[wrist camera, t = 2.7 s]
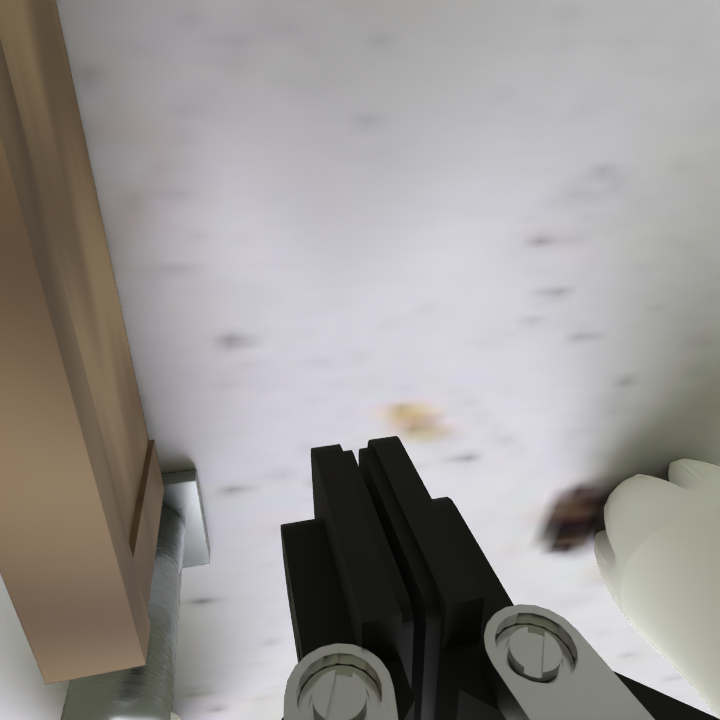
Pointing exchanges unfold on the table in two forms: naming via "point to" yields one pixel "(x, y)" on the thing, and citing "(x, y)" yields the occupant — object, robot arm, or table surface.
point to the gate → (65, 381)
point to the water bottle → (669, 567)
